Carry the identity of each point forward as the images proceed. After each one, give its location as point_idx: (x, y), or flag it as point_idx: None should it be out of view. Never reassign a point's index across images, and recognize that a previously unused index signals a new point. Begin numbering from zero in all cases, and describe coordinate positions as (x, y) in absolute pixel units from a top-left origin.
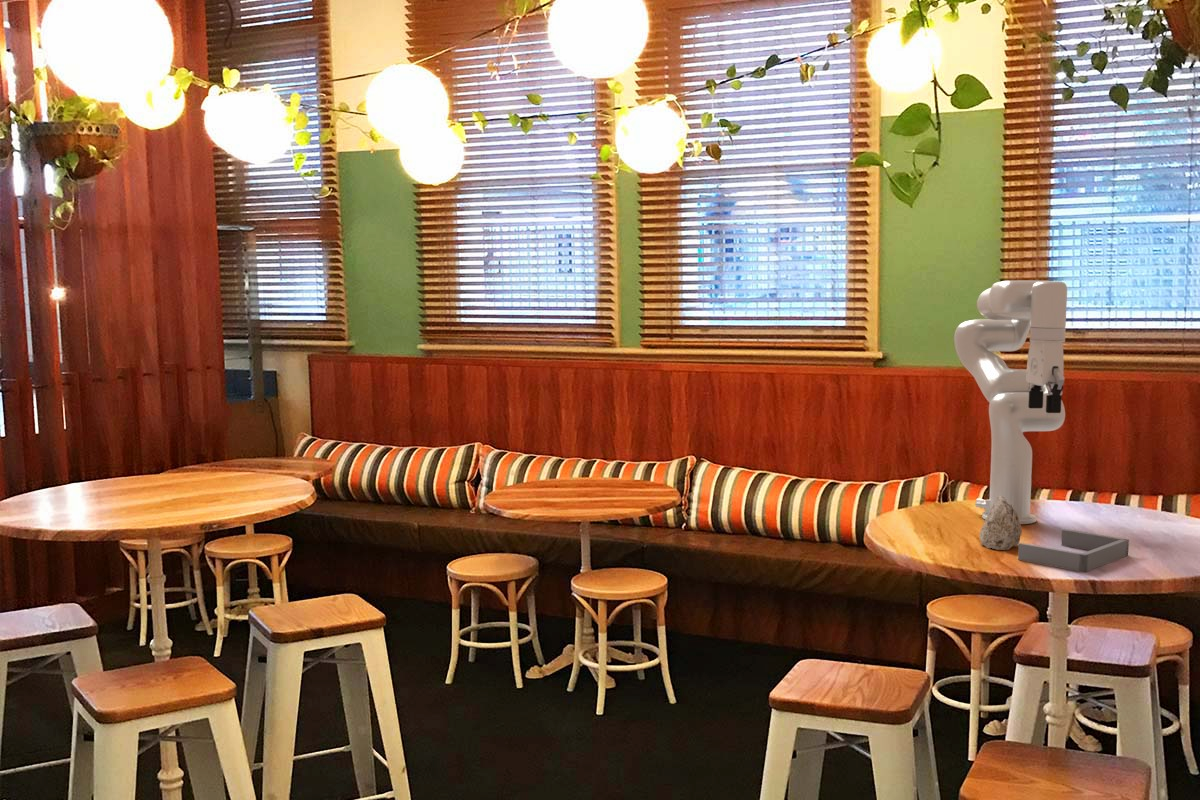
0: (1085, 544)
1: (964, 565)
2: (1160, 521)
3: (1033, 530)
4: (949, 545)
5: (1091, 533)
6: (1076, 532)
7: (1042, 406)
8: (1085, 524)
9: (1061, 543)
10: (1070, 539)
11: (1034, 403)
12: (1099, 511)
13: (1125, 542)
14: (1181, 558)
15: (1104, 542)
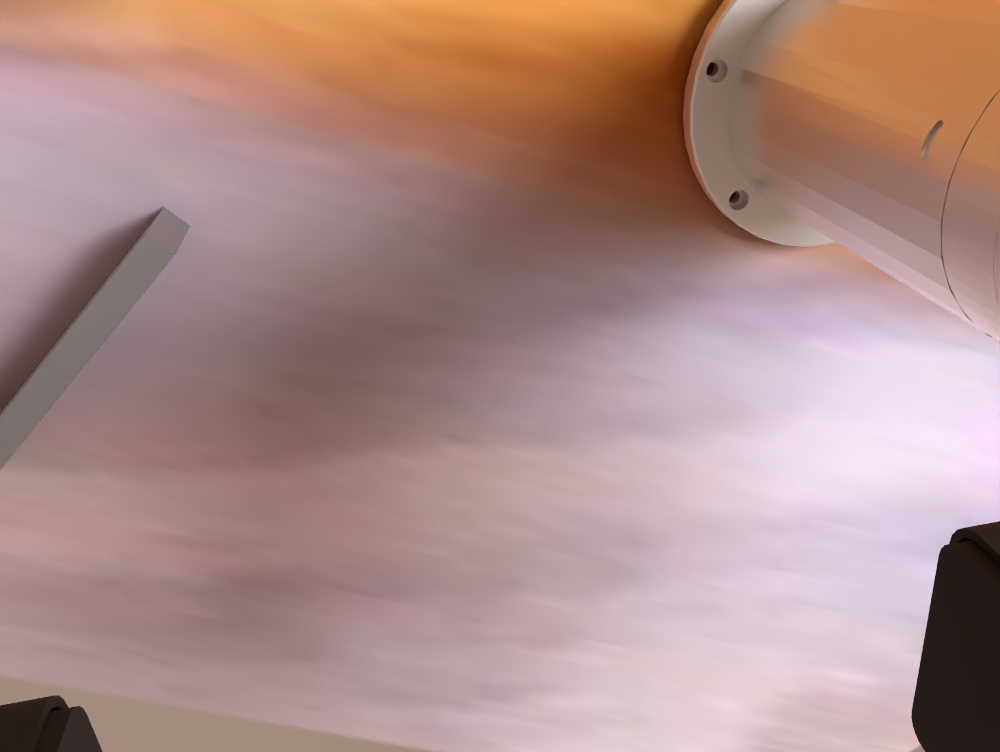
0: (78, 315)
1: None
2: (744, 722)
3: (547, 159)
4: None
5: (78, 369)
6: (95, 297)
7: (926, 749)
8: (696, 450)
9: (162, 210)
10: (125, 257)
11: (994, 674)
12: None
13: None
14: (11, 650)
15: (12, 399)
